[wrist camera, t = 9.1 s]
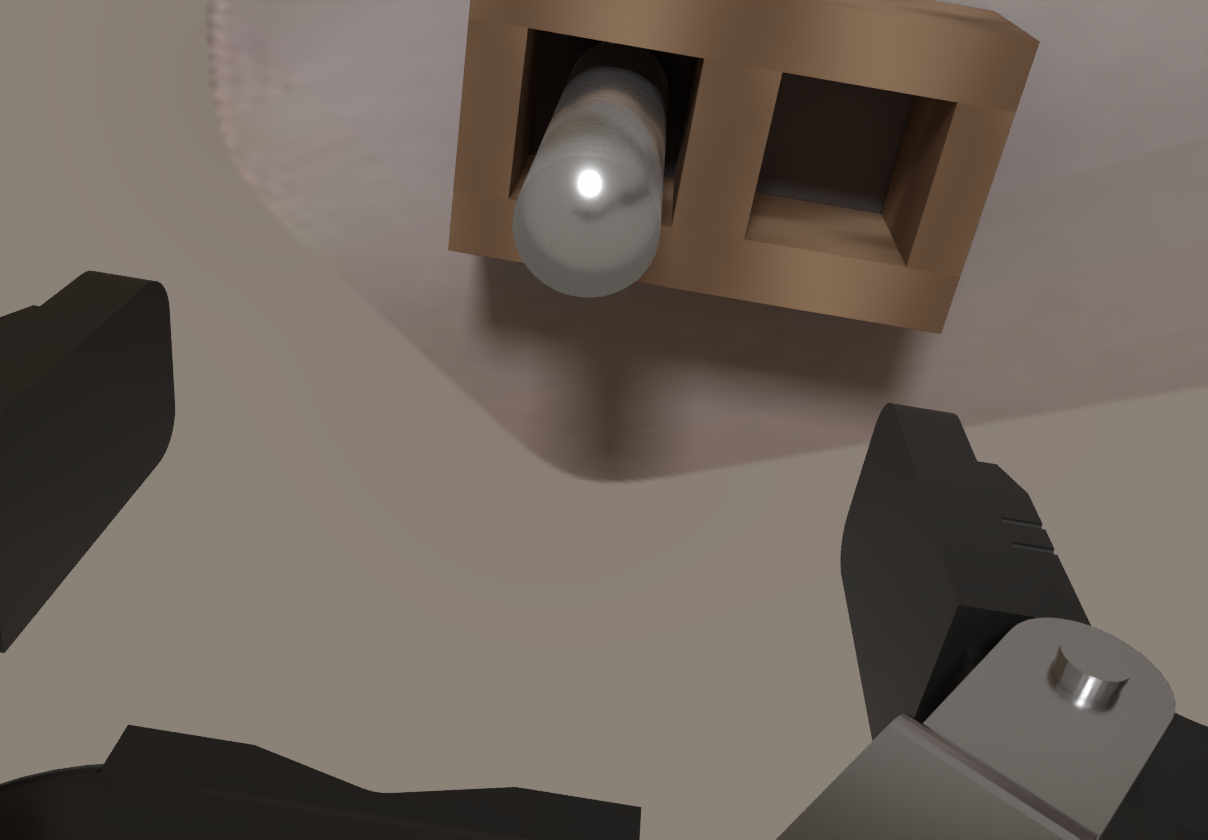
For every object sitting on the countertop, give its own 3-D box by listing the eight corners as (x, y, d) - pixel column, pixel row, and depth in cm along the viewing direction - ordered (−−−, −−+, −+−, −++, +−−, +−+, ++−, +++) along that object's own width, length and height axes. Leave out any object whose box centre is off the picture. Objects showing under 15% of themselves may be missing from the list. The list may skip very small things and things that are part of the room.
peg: (676, 49, 32) (672, 169, 22) (658, 150, 33) (646, 308, 23) (575, 31, 32) (521, 144, 22) (561, 133, 33) (504, 284, 23)
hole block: (994, 11, 31) (1039, 41, 27) (912, 274, 35) (940, 333, 31) (502, -75, 31) (475, -58, 27) (475, 199, 35) (448, 249, 31)
